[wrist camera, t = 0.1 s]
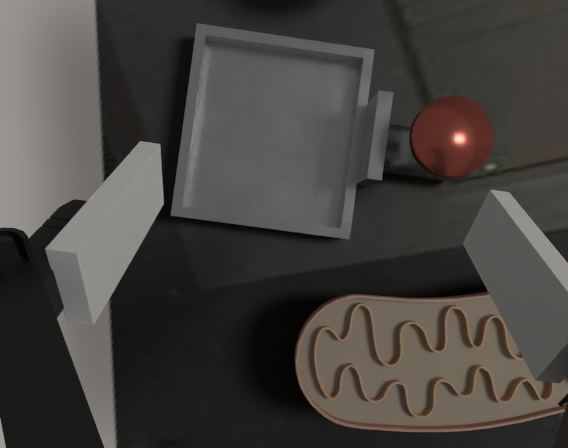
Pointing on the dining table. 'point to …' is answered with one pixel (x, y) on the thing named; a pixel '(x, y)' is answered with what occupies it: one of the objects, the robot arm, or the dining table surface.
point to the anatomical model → (418, 365)
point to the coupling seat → (304, 133)
